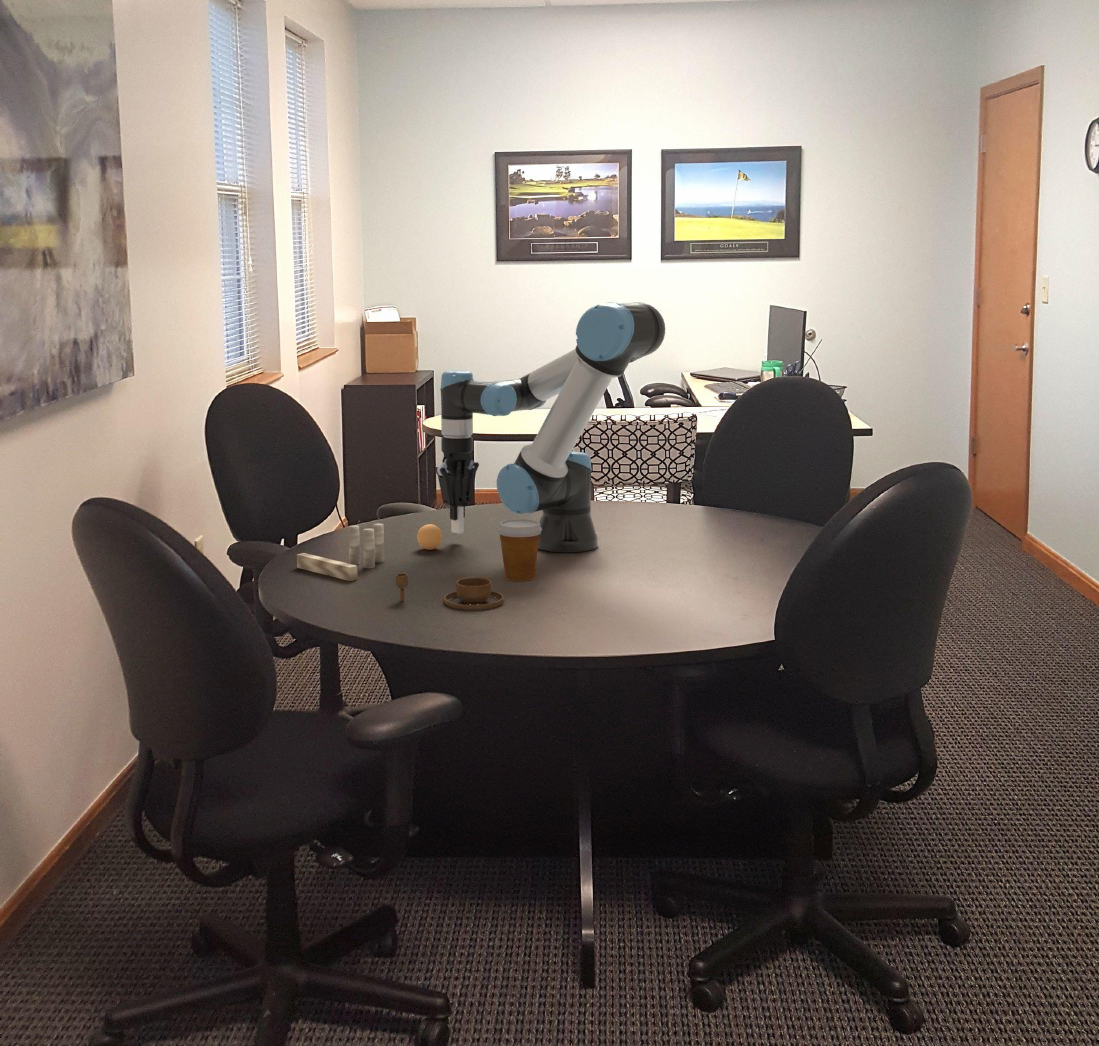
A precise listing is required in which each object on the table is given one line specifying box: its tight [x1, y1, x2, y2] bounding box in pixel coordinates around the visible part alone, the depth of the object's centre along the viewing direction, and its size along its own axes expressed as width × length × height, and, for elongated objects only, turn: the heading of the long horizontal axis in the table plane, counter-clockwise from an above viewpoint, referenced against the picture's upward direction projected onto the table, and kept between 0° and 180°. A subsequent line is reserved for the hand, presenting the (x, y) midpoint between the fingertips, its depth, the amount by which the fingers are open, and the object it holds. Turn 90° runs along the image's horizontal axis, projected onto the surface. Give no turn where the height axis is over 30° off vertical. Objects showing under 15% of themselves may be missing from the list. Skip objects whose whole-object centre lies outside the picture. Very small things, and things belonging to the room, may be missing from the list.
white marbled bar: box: [296, 552, 358, 582], centre depth 258 cm, size 18×2×3 cm, turn 49°
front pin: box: [372, 523, 385, 564], centre depth 269 cm, size 2×2×8 cm
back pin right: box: [347, 524, 361, 566], centre depth 266 cm, size 2×2×8 cm
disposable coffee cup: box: [497, 518, 542, 582], centre depth 254 cm, size 10×10×12 cm
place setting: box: [395, 572, 505, 611], centre depth 238 cm, size 18×20×6 cm
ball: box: [416, 523, 444, 551], centre depth 281 cm, size 6×6×6 cm
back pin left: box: [362, 528, 376, 569], centre depth 263 cm, size 2×2×8 cm
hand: (457, 532), depth 288 cm, fingers closed
